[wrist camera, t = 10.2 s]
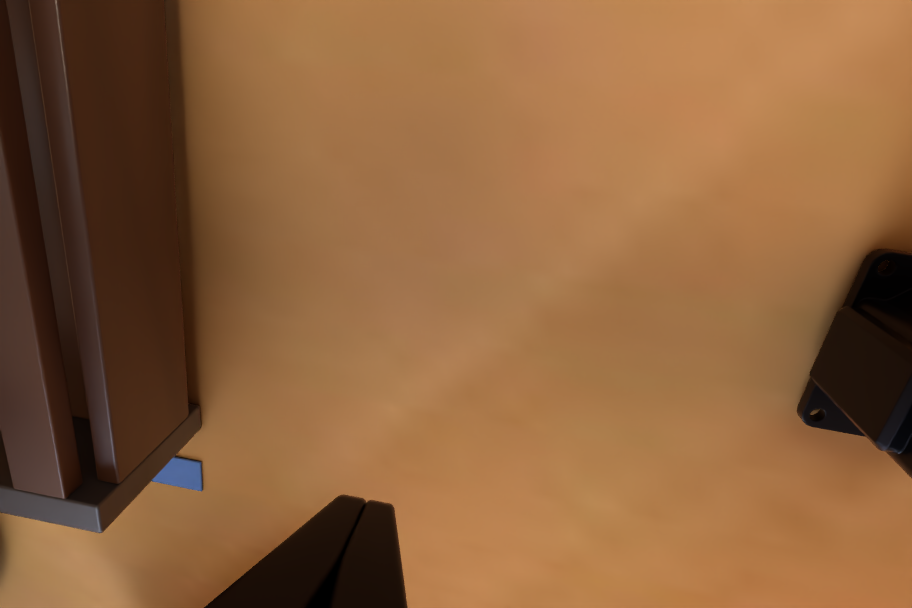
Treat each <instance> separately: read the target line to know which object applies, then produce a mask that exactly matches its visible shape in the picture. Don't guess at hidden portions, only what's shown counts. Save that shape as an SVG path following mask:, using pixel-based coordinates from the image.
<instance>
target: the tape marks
mask: <svg viewBox="0 0 912 608" xmlns="http://www.w3.org/2000/svg"><path fill="white" fill-rule="evenodd" d="M152 481H153V482H158V483H163V484H168V485H173V486H178V487H183V488H187V489H192V490H197V491H202V490H203V485H202V466H201V462H200V461H195V460H190V459H185V458H180V457H175V456H174V457H173V458H172V459H171V460H170V461H169V463H168V464H167V465H166V466H165V467H164V468H163V469H162V470H161V471H160V472H159V473H158V474H157V475H156V476H155V477H154V478H153V480H152Z"/></svg>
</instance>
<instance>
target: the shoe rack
mask: <svg viewBox="0 0 912 608" xmlns="http://www.w3.org/2000/svg"><path fill="white" fill-rule="evenodd" d="M200 428H201V422H200V407H199V406H198V405H193V404H188V393H187V377H186V360H185V343H184V327H183V310H182V293H181V277H180V260H179V243H178V226H177V210H176V193H175V176H174V160H173V143H172V126H171V110H170V93H169V76H168V60H167V43H166V26H165V10H164V0H0V512H1V513H6V514H11V515H15V516H20V517H25V518H30V519H35V520H39V521H44V522H49V523H54V524H58V525H63V526H68V527H73V528H78V529H82V530H87V531H92V532H97V533H102V532H104V530H105V529H106V528H107V527H108V526H109V525H110V524H111V523H112V522H113V521H114V520H115V519H116V518H117V517H118V516H119V515H120V513H121V512H122V511H123V510H124V509H125V508H126V507H127V506H128V505H129V504H130V503H131V502H132V501H133V500H134V499H135V498H136V497H137V495H138V494H139V493H140V492H141V491H142V490H143V489H144V488H145V487H146V486H147V485H148V484H149V483H150V482H151V481H152V480H153V478H154V477H155V476H156V475H157V474H158V473H159V472H160V471H161V470H162V469H163V468H164V467H165V466H166V465H167V464H168V463H169V461H170V460H171V459H172V458H173V457H174V456H175V455H176V454H177V453H178V452H179V451H180V450H181V449H182V448H183V447H184V446H185V445H186V443H187V442H188V441H189V440H190V439H191V438H192V437H193V436H194V435H195V434H196V433H197V432H198V431H199V430H200Z"/></svg>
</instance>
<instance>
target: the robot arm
mask: <svg viewBox="0 0 912 608" xmlns="http://www.w3.org/2000/svg"><path fill="white" fill-rule="evenodd" d="M885 260H888V266H887V267H886V268H885V269H884V270H882V271H878V266H879V265H880V264H881V263H882V262H884V261H885ZM810 376H811V378H810V380H809V382H808V385H807V387H806V389H805V391H804V393H803V396H802V398H801V400H800V402H799V404H798V407H797V413H798V416H799V417H800V418H801V419H802V420H803V422H804V423H805V424H806V425H809V426H811V427H816V428H821V429H827V430H832V431H838V432H843V433H849V434H854V435H860V436H865V437H867V438H868V439H869V440H870V441H871V442H872V443H873V444H874V445H875V446H876V448H878V449H879V450H881V451H886V452H887V453H888V454H889V455H890V456H891V458H892V459H893V460H894V461H895V462H896V463H897V464H898V465H899V466H900V467H901V468H902V469H903V470H904V471H905V472H906V473H907V474H908V475H909V476H910V477H911V478H912V253H908V252H902V251H896V250H890V249H878V250H875V251H873V252H871V253H870V254H869V255H867V257H866V258H865V259H864V261H863V263H862V265H861V267H860V270H859V272H858V274H857V276H856V278H855V281H854V283H853V285H852V287H851V289H850V292H849V294H848V296H847V298H846V301H845V303H844V305H843V307H842V309H840V310H839V311H838V312H837V314H836V316H835V318H834V320H833V322H832V325H831V327H830V329H829V331H828V334H827V336H826V338H825V340H824V342H823V345H822V347H821V349H820V351H819V354H818V356H817V358H816V360H815V362H814V365H813V367H812V369H811V371H810ZM815 409H820V410H819V411H818V412H817V413H816V414H814V415H810V413H811V412H812V411H813V410H815ZM204 608H407V601H406V593H405V585H404V578H403V570H402V563H401V555H400V548H399V540H398V533H397V525H396V518H395V510H394V507H393V505H392V504H389V503H384V502H379V501H374V500H370V501H368V502H367V503H366V501H365V499H363V498H359V497H354V496H349V495H340V496H338V497H336V498H335V499H334V500H333V501H332V502H330V503H329V504H328V505H327V506H326V507H324V508H323V509H322V510H321V511H320V512H318V513H317V514H316V515H315V516H314V517H312V518H311V519H310V520H309V521H308V522H306V523H305V524H304V525H303V526H302V527H300V528H299V529H298V530H297V531H296V532H294V533H293V534H292V535H291V536H290V537H288V538H287V539H286V540H285V541H284V542H282V543H281V544H280V545H279V546H278V547H276V548H275V549H274V550H273V551H271V552H270V553H269V554H268V555H267V556H265V557H264V558H263V559H262V560H261V561H259V562H258V563H257V564H256V565H255V566H253V567H252V568H251V569H250V570H249V571H247V572H246V573H245V574H244V575H243V576H241V577H240V578H239V579H238V580H237V581H235V582H234V583H233V584H232V585H231V586H229V587H228V588H227V589H226V590H225V591H223V592H222V593H221V594H220V595H219V596H217V597H216V598H215V599H214V600H213V601H211V602H210V603H209V604H208V605H206V606H205V607H204Z"/></svg>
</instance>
